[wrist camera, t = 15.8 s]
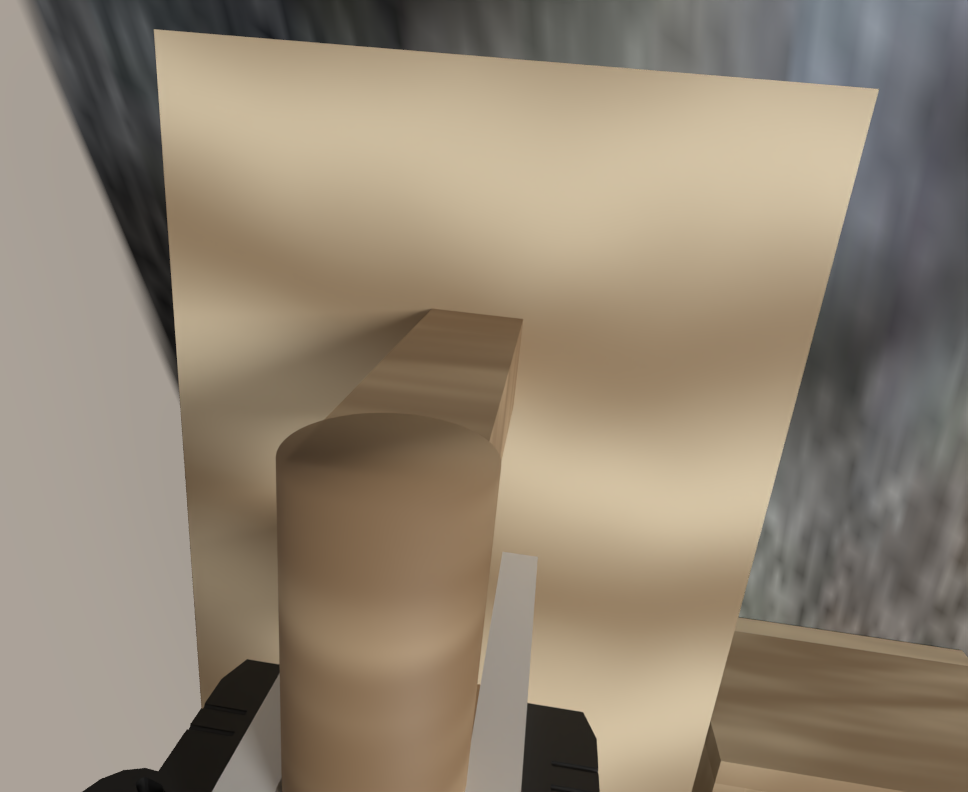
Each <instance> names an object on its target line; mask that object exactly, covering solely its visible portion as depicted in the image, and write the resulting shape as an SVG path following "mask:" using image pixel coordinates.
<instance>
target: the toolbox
mask: <svg viewBox="0 0 968 792" xmlns="http://www.w3.org/2000/svg"><path fill="white" fill-rule="evenodd" d="M692 792H968V657H967V656H966V655H965V654H964V653H963V651H961V650H954V649H947V648H941V647H934V646H927V645H921V644H914V643H907V642H900V641H894V640H887V639H880V638H874V637H867V636H860V635H853V634H847V633H840V632H833V631H827V630H820V629H813V628H806V627H800V626H793V625H786V624H780V623H773V622H766V621H759V620H753V619H746V618H739V617H738V619H737V623H736V627H735V631H734V634H733V638H732V642H731V646H730V649H729V653H728V657H727V661H726V664H725V668H724V672H723V676H722V679H721V683H720V687H719V691H718V694H717V698H716V702H715V706H714V709H713V713H712V717H711V721H710V724H709V728H708V732H707V736H706V739H705V743H704V747H703V751H702V754H701V758H700V762H699V766H698V769H697V773H696V777H695V781H694V784H693V788H692Z"/></svg>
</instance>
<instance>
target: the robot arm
mask: <svg viewBox="0 0 968 792" xmlns="http://www.w3.org/2000/svg"><path fill="white" fill-rule="evenodd" d="M537 561H538V557H536V556H529V555H522V554H515V553H508V552H502V558H501V564H500V570H499V576H498V582H497V588H496V594H495V600H494V606H493V612H492V618H491V624H490V630H489V636H488V643H487V649H486V655H485V661H484V667H483V673H482V679H481V685H480V691H479V697H478V703H477V709H476V715H475V721H474V727H473V733H472V739H471V747H470V756H469V765H468V774H467V783H466V789H465V792H600V788H599V774H598V752H597V738H596V736H595V734H594V732H593V731H592V729H591V727H590V725H589V723H588V721H587V719H586V717H585V715H584V713H583V712H580V711H574V710H568V709H561V708H555V707H549V706H543V705H537V704H531V703H527V701H528V687H529V673H530V659H531V645H532V631H533V617H534V603H535V589H536V575H537ZM83 792H282V775H281V721H280V667H279V664H274V663H268V662H261V661H255V660H249V659H247V660H245V661H244V662H243V663H241V664H240V665H239V666H238V667H236V668H235V669H234V670H232V671H231V672H230V673H228V674H227V675H226V676H224V677H223V678H222V679H221V680H220V682H219V683H218V685H217V686H216V687H215V689H214V690H213V692H212V693H211V695H210V696H209V698H208V699H207V701H206V702H205V705H204V708H203V709H202V708H201V710H200V711H199V712H198V714H197V715H196V717H195V718H194V720H193V721H192V723H191V725H190V728H189V730H186V732H185V733H184V734H183V736H182V737H181V739H180V740H179V742H178V743H177V745H176V746H175V748H174V749H173V751H172V752H171V754H170V755H169V757H168V758H167V759H166V761H165V762H164V764H163V766H162V767H161V768H160V770H159V771H154V770H151V769H147V768H142V769H132V770H123V771H121V772H118V773H115V774H113V775H110V776H108V777H105V778H102V779H100V780H99V781H97V782H96V783H94V784H93V785H92V786H90V787H89V788H87V789H86V790H84V791H83Z"/></svg>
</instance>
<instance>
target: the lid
mask: <svg viewBox="0 0 968 792" xmlns="http://www.w3.org/2000/svg"><path fill="white" fill-rule="evenodd" d="M154 37H155V51H156V66H157V80H158V94H159V108H160V123H161V137H162V151H163V165H164V180H165V194H166V208H167V222H168V237H169V251H170V265H171V279H172V294H173V308H174V322H175V336H176V351H177V365H178V379H179V393H180V408H181V421H182V435H183V450H184V463H185V479H186V492H187V507H188V521H189V535H190V549H191V564H192V578H193V593H194V607H195V620H196V634H197V635H196V636H197V650H198V664H199V677H200V678H199V679H200V693H201V707H202V709H203V708H204V705H205V702H206V701H207V699H208V698H209V696H210V695H211V693H212V692H213V690H214V689H215V687H216V686H217V685H218V683H219V682H220V680H221V679H222V678H223V677H224V676H226V675H227V674H228V673H230V672H231V671H232V670H234V669H235V668H236V667H238V666H239V665H240V664H241V663H243V662H244V661H245V660H247V659H249V660H255V661H261V662H268V663H274V664H279V667H280V721H281V775H282V792H465V789H466V783H467V774H468V765H469V756H470V747H471V739H472V733H473V727H474V721H475V715H476V709H477V703H478V697H479V691H480V685H481V679H482V673H483V667H484V661H485V655H486V649H487V643H488V636H489V630H490V624H491V618H492V612H493V606H494V600H495V594H496V588H497V582H498V576H499V570H500V564H501V558H502V552H508V553H515V554H522V555H529V556H536V557H538V561H537V575H536V589H535V603H534V617H533V631H532V645H531V659H530V673H529V687H528V701H527V703H531V704H537V705H543V706H549V707H555V708H561V709H568V710H574V711H580V712H583V713H584V715H585V717H586V719H587V721H588V723H589V725H590V727H591V729H592V731H593V732H594V734H595V736H596V738H597V752H598V774H599V788H600V792H692V788H693V784H694V781H695V777H696V773H697V769H698V766H699V762H700V758H701V754H702V751H703V747H704V743H705V739H706V736H707V732H708V728H709V724H710V721H711V717H712V713H713V709H714V706H715V702H716V698H717V694H718V691H719V687H720V683H721V679H722V676H723V672H724V668H725V664H726V661H727V657H728V653H729V649H730V646H731V642H732V638H733V634H734V631H735V627H736V623H737V619H738V616H739V612H740V608H741V604H742V601H743V597H744V593H745V589H746V586H747V582H748V578H749V574H750V571H751V567H752V563H753V559H754V556H755V552H756V548H757V544H758V541H759V537H760V533H761V529H762V526H763V522H764V518H765V514H766V511H767V507H768V503H769V499H770V496H771V492H772V488H773V485H774V481H775V477H776V473H777V470H778V466H779V462H780V458H781V455H782V451H783V447H784V443H785V440H786V436H787V432H788V428H789V425H790V421H791V417H792V413H793V410H794V406H795V402H796V398H797V395H798V391H799V387H800V383H801V380H802V376H803V372H804V368H805V365H806V361H807V357H808V353H809V350H810V346H811V342H812V338H813V335H814V331H815V327H816V323H817V320H818V316H819V312H820V308H821V305H822V301H823V297H824V293H825V290H826V286H827V282H828V278H829V275H830V271H831V267H832V263H833V260H834V256H835V252H836V248H837V245H838V241H839V237H840V233H841V230H842V226H843V222H844V218H845V215H846V211H847V207H848V203H849V200H850V196H851V192H852V188H853V185H854V181H855V177H856V174H857V170H858V166H859V162H860V159H861V155H862V151H863V147H864V144H865V140H866V136H867V132H868V129H869V125H870V121H871V117H872V114H873V110H874V106H875V102H876V99H877V95H878V91H879V89H871V88H859V87H847V86H835V85H823V84H811V83H799V82H786V81H774V80H762V79H750V78H738V77H726V76H714V75H701V74H689V73H677V72H665V71H653V70H641V69H629V68H616V67H604V66H592V65H580V64H568V63H556V62H544V61H531V60H519V59H507V58H495V57H483V56H471V55H459V54H446V53H434V52H422V51H410V50H398V49H386V48H374V47H361V46H349V45H337V44H325V43H313V42H301V41H289V40H276V39H264V38H252V37H240V36H228V35H216V34H203V33H191V32H179V31H167V30H155V29H154Z"/></svg>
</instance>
